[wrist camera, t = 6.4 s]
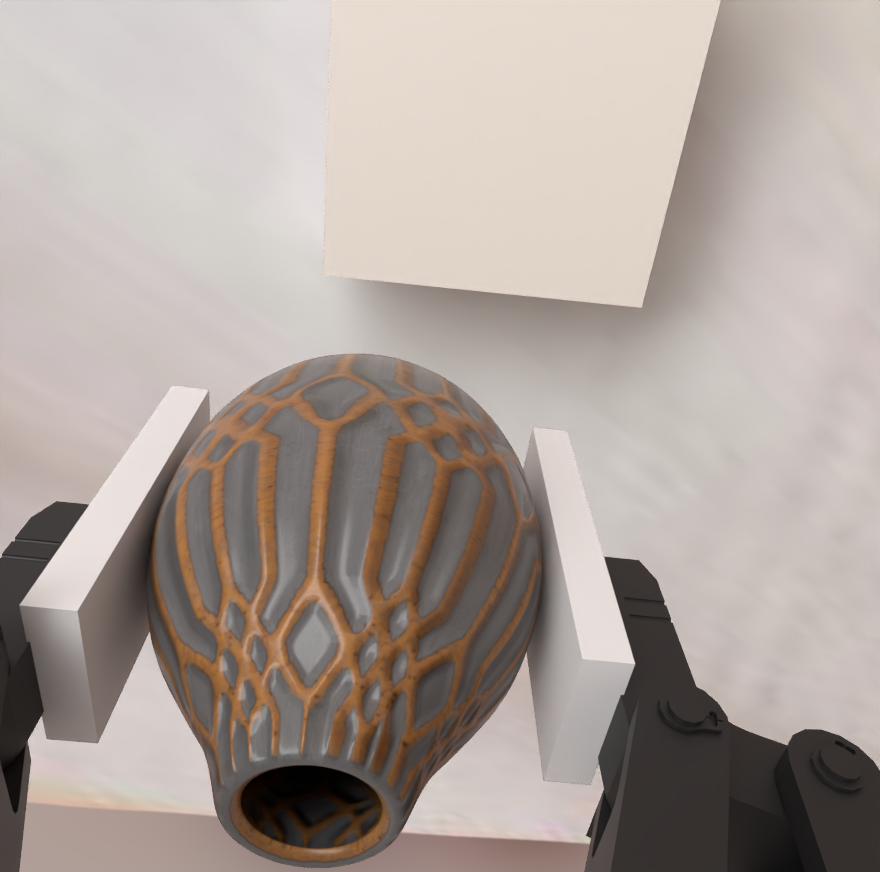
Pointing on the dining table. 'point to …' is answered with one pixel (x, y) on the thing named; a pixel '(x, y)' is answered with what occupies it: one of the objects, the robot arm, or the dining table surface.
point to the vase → (341, 598)
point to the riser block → (508, 141)
